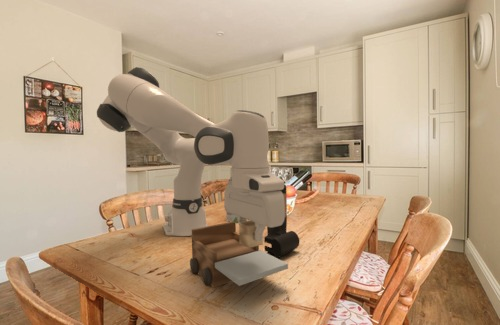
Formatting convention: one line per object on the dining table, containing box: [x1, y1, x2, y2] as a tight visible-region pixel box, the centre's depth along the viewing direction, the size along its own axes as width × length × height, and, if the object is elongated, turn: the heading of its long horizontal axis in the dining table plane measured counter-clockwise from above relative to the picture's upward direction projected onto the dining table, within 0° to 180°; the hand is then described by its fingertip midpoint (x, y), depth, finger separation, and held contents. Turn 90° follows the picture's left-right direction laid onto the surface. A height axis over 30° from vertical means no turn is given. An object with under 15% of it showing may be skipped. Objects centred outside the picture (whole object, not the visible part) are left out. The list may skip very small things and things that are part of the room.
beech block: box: [238, 220, 264, 248], centre depth 65 cm, size 4×4×5 cm
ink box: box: [225, 211, 239, 224], centre depth 129 cm, size 9×5×12 cm, turn 58°
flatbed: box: [189, 221, 260, 288], centre depth 76 cm, size 13×16×12 cm
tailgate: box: [215, 249, 289, 287], centre depth 65 cm, size 2×14×11 cm
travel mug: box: [266, 185, 288, 236], centre depth 103 cm, size 8×8×20 cm
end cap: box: [263, 230, 300, 259], centre depth 88 cm, size 10×7×7 cm
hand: (251, 237), depth 65 cm, fingers closed on beech block, 4 cm apart
